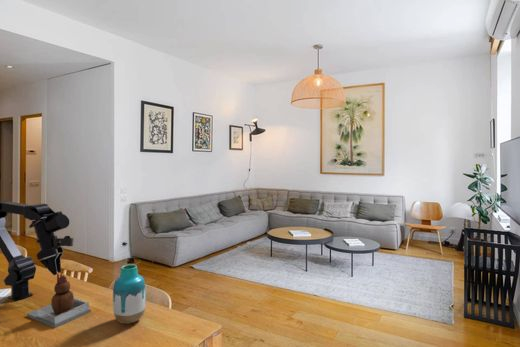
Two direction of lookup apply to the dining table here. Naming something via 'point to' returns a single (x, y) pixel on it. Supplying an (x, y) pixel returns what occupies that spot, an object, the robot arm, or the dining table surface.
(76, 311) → the grey shallow rectangular tray
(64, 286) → the wooden figurine
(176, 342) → the dining table surface
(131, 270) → the vase
